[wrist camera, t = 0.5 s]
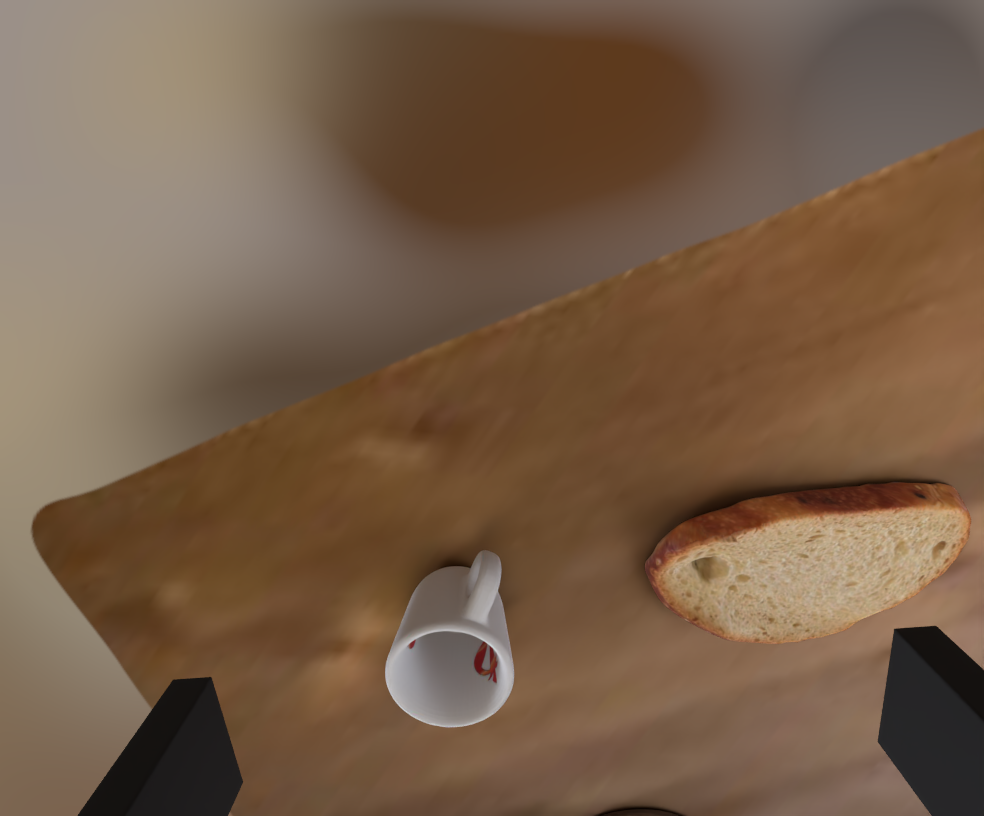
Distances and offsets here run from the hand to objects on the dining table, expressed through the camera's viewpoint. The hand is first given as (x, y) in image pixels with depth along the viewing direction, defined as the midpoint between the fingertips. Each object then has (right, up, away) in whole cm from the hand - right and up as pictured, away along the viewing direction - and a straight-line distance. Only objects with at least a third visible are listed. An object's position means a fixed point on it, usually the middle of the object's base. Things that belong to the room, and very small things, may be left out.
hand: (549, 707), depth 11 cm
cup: (-3, -7, +31) cm, 32 cm away
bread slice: (+21, -4, +30) cm, 37 cm away
